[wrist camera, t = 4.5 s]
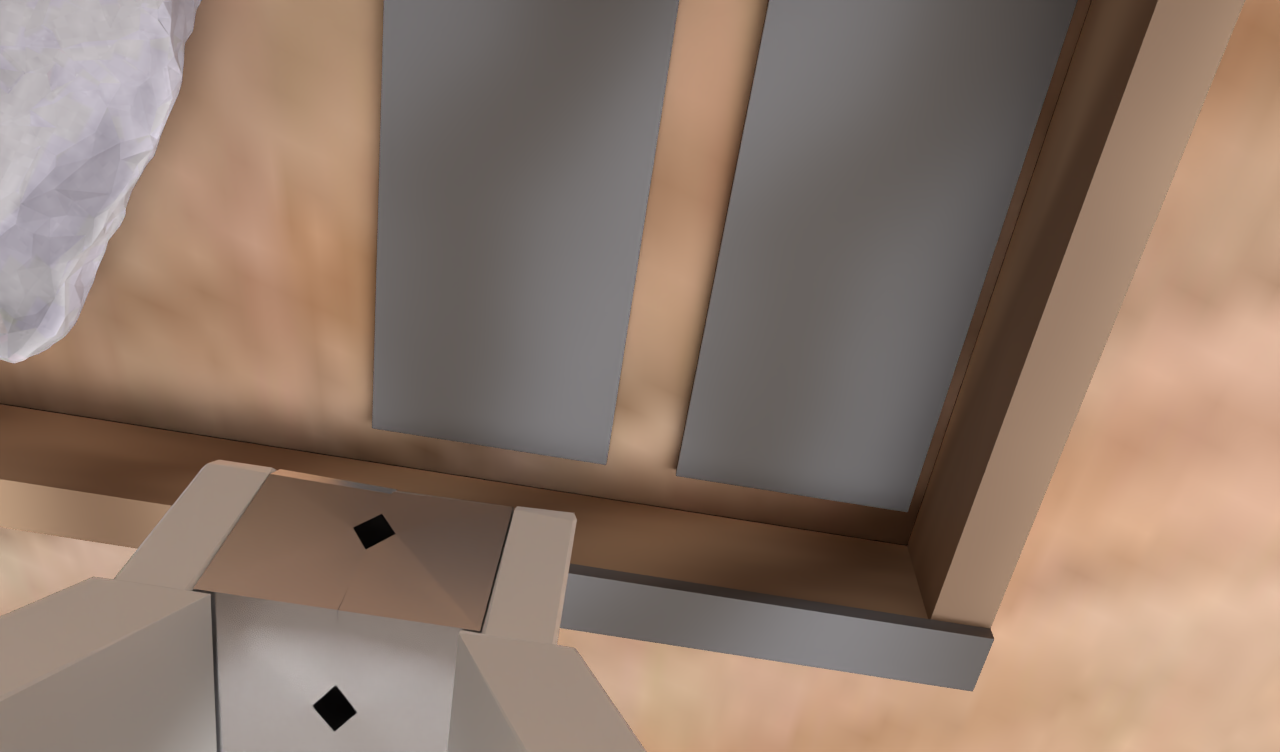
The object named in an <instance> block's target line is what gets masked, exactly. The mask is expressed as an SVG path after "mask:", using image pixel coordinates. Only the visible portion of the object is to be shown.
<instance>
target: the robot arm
mask: <svg viewBox="0 0 1280 752" xmlns="http://www.w3.org/2000/svg"><path fill="white" fill-rule="evenodd" d="M576 522H577V519H576V516H575V514H574V513H570V512H562V511H553V510H545V509H537V508H528V507H520V506H517V507H516V508H514V507H510V506H503V505H495V504H488V503H481V502H474V501H466V500H459V499H452V498H445V497H437V496H430V495H423V494H416V493H409V492H401V491H398V489H392V488H386V487H380V486H375V485H369V484H363V483H357V482H352V481H346V480H340V479H334V478H329V477H323V476H317V475H311V474H306V473H300V472H294V471H288V470H283V469H279V470H276V469H274V468H271V467H265V466H258V465H251V464H245V463H238V462H232V461H225V460H216V461H213V462H210V463H207V464H206V465H205V466H203V468H202V469H201V470H200V471H199V473H198V474H197V475H196V476H195V478H194V479H193V480H192V481H191V483H190V484H189V485H188V486H187V488H186V489H185V490H184V491H183V493H182V494H181V495H180V496H179V498H178V499H177V500H176V501H175V503H174V504H173V505H172V506H171V508H170V509H169V510H168V511H167V513H166V514H165V515H164V516H163V518H162V519H161V520H160V521H159V523H158V524H157V525H156V527H155V528H154V529H153V530H152V532H151V533H150V534H149V535H148V537H147V538H146V539H145V540H144V542H143V543H142V544H141V545H140V547H139V548H138V549H137V550H136V552H135V553H134V554H133V555H132V557H131V558H130V559H129V560H128V562H127V563H126V564H125V565H124V567H123V568H122V569H121V570H120V572H119V573H118V574H117V575H116V577H115V578H114V579H107V578H100V577H92V578H89V579H87V580H85V581H82V582H80V583H78V584H75V585H73V586H70V587H68V588H66V589H63V590H61V591H59V592H56V593H54V594H52V595H49V596H47V597H45V598H42V599H40V600H38V601H35V602H33V603H31V604H28V605H26V606H24V607H21V608H19V609H17V610H14V611H12V612H10V613H7V614H5V615H3V616H0V752H646V750H645V749H644V747H643V746H642V744H641V743H640V742H639V740H638V739H637V737H636V736H635V734H634V733H633V731H632V730H631V728H630V727H629V725H628V724H627V723H626V721H625V720H624V718H623V717H622V715H621V714H620V712H619V711H618V709H617V708H616V707H615V705H614V704H613V702H612V701H611V699H610V698H609V696H608V695H607V693H606V692H605V690H604V689H603V688H602V686H601V685H600V683H599V682H598V680H597V679H596V677H595V676H594V674H593V673H592V672H591V670H590V669H589V667H588V666H587V664H586V663H585V661H584V660H583V658H582V657H581V655H580V654H579V653H578V651H577V650H576V649H575V648H573V647H567V646H561V645H557V642H558V635H559V629H560V623H561V616H562V610H563V604H564V598H565V591H566V585H567V579H568V572H569V566H570V560H571V553H572V547H573V541H574V534H575V528H576Z"/></svg>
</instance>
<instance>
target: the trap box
mask: <svg viewBox="0 0 1280 752" xmlns="http://www.w3.org/2000/svg"><path fill="white" fill-rule="evenodd" d="M1244 2H1245V0H1092V1H1091V4H1090V7H1089V10H1088V13H1087V16H1086V19H1085V22H1084V25H1083V28H1082V31H1081V34H1080V36H1079V39H1078V42H1077V45H1076V48H1075V51H1074V54H1073V57H1072V60H1071V63H1070V66H1069V69H1068V72H1067V75H1066V78H1065V81H1064V84H1063V87H1062V90H1061V93H1060V96H1059V99H1058V102H1057V104H1056V107H1055V110H1054V113H1053V116H1052V119H1051V122H1050V125H1049V128H1048V131H1047V134H1046V137H1045V140H1044V143H1043V146H1042V149H1041V152H1040V155H1039V158H1038V161H1037V164H1036V167H1035V170H1034V172H1033V175H1032V178H1031V181H1030V184H1029V187H1028V190H1027V193H1026V196H1025V199H1024V202H1023V205H1022V208H1021V211H1020V214H1019V217H1018V220H1017V223H1016V226H1015V229H1014V232H1013V235H1012V238H1011V240H1010V243H1009V246H1008V249H1007V252H1006V255H1005V258H1004V261H1003V264H1002V267H1001V270H1000V273H999V276H998V279H997V282H996V285H995V288H994V291H993V294H992V297H991V300H990V303H989V306H988V309H987V311H986V314H985V317H984V320H983V323H982V326H981V329H980V332H979V335H978V338H977V341H976V344H975V347H974V350H973V353H972V356H971V359H970V362H969V365H968V368H967V371H966V374H965V377H964V379H963V382H962V385H961V388H960V391H959V394H958V397H957V400H956V403H955V406H954V409H953V412H952V415H951V418H950V421H949V424H948V427H947V430H946V433H945V436H944V439H943V442H942V445H941V447H940V450H939V453H938V456H937V459H936V462H935V465H934V468H933V471H932V474H931V477H930V480H929V483H928V486H927V489H926V492H925V495H924V498H923V501H922V504H921V507H920V510H919V513H918V515H917V518H916V521H915V524H914V527H913V530H912V533H911V536H910V539H909V542H908V545H907V546H904V545H898V544H891V543H885V542H878V541H872V540H866V539H859V538H853V537H846V536H840V535H834V534H827V533H821V532H814V531H808V530H802V529H795V528H789V527H782V526H776V525H770V524H763V523H757V522H750V521H744V520H738V519H731V518H725V517H718V516H712V515H706V514H699V513H693V512H686V511H680V510H674V509H667V508H661V507H654V506H648V505H642V504H635V503H629V502H622V501H616V500H610V499H603V498H597V497H590V496H584V495H578V494H571V493H565V492H559V491H552V490H546V489H539V488H533V487H527V486H520V485H514V484H507V483H501V482H495V481H488V480H482V479H475V478H469V477H463V476H456V475H450V474H443V473H437V472H431V471H424V470H418V469H411V468H405V467H399V466H392V465H386V464H379V463H373V462H367V461H360V460H354V459H347V458H341V457H335V456H328V455H322V454H315V453H309V452H303V451H296V450H290V449H283V448H277V447H271V446H264V445H258V444H251V443H245V442H239V441H232V440H226V439H219V438H213V437H207V436H200V435H194V434H187V433H181V432H175V431H168V430H162V429H155V428H149V427H143V426H136V425H130V424H123V423H117V422H111V421H104V420H98V419H91V418H85V417H79V416H72V415H66V414H59V413H53V412H47V411H40V410H34V409H28V408H21V407H15V406H8V405H2V404H0V527H2V528H8V529H15V530H21V531H27V532H34V533H40V534H47V535H53V536H60V537H66V538H73V539H79V540H86V541H92V542H99V543H105V544H112V545H118V546H125V547H131V548H139V547H140V545H141V544H142V543H143V542H144V540H145V539H146V538H147V537H148V535H149V534H150V533H151V532H152V530H153V529H154V528H155V527H156V525H157V524H158V523H159V521H160V520H161V519H162V518H163V516H164V515H165V514H166V513H167V511H168V510H169V509H170V508H171V506H172V505H173V504H174V503H175V501H176V500H177V499H178V498H179V496H180V495H181V494H182V493H183V491H184V490H185V489H186V488H187V486H188V485H189V484H190V483H191V481H192V480H193V479H194V478H195V476H196V475H197V474H198V473H199V471H200V470H201V469H202V468H203V466H205V465H206V464H207V463H210V462H213V461H216V460H225V461H232V462H238V463H245V464H251V465H258V466H265V467H271V468H274V469H276V470H279V469H283V470H288V471H294V472H300V473H306V474H311V475H317V476H323V477H329V478H334V479H340V480H346V481H352V482H357V483H363V484H369V485H375V486H380V487H386V488H392V489H398V491H401V492H409V493H416V494H423V495H430V496H437V497H445V498H452V499H459V500H466V501H474V502H481V503H488V504H495V505H503V506H510V507H514V508H516V507H517V506H520V507H528V508H537V509H545V510H553V511H562V512H570V513H574V514H575V516H576V519H577V522H576V528H575V534H574V541H573V547H572V553H571V560H570V566H569V572H568V579H567V585H566V591H565V598H564V604H563V610H562V616H561V623H560V628H564V629H570V630H577V631H583V632H590V633H596V634H603V635H609V636H616V637H622V638H629V639H635V640H642V641H648V642H655V643H661V644H668V645H674V646H681V647H687V648H694V649H700V650H707V651H713V652H720V653H726V654H733V655H739V656H746V657H752V658H759V659H765V660H772V661H778V662H785V663H791V664H798V665H804V666H811V667H817V668H824V669H830V670H837V671H843V672H850V673H856V674H863V675H869V676H876V677H882V678H888V679H895V680H901V681H908V682H914V683H921V684H927V685H934V686H940V687H947V688H953V689H960V690H966V691H973V690H974V687H975V685H976V682H977V680H978V677H979V675H980V673H981V670H982V668H983V665H984V663H985V660H986V658H987V656H988V653H989V651H990V648H991V646H992V643H993V641H994V637H993V634H992V632H991V629H990V628H991V626H992V623H993V621H994V619H995V616H996V614H997V611H998V609H999V606H1000V604H1001V601H1002V599H1003V596H1004V594H1005V591H1006V589H1007V586H1008V584H1009V582H1010V579H1011V577H1012V574H1013V572H1014V569H1015V567H1016V564H1017V562H1018V559H1019V557H1020V554H1021V552H1022V550H1023V547H1024V545H1025V542H1026V540H1027V537H1028V535H1029V532H1030V530H1031V527H1032V525H1033V522H1034V520H1035V517H1036V515H1037V513H1038V510H1039V508H1040V505H1041V503H1042V500H1043V498H1044V495H1045V493H1046V490H1047V488H1048V485H1049V483H1050V480H1051V478H1052V476H1053V473H1054V471H1055V468H1056V466H1057V463H1058V461H1059V458H1060V456H1061V453H1062V451H1063V448H1064V446H1065V443H1066V441H1067V439H1068V436H1069V434H1070V431H1071V429H1072V426H1073V424H1074V421H1075V419H1076V416H1077V414H1078V411H1079V409H1080V407H1081V404H1082V402H1083V399H1084V397H1085V394H1086V392H1087V389H1088V387H1089V384H1090V382H1091V379H1092V377H1093V374H1094V372H1095V370H1096V367H1097V365H1098V362H1099V360H1100V357H1101V355H1102V352H1103V350H1104V347H1105V345H1106V342H1107V340H1108V337H1109V335H1110V333H1111V330H1112V328H1113V325H1114V323H1115V320H1116V318H1117V315H1118V313H1119V310H1120V308H1121V305H1122V303H1123V300H1124V298H1125V296H1126V293H1127V291H1128V288H1129V286H1130V283H1131V281H1132V278H1133V276H1134V273H1135V271H1136V268H1137V266H1138V263H1139V261H1140V259H1141V256H1142V254H1143V251H1144V249H1145V246H1146V244H1147V241H1148V239H1149V236H1150V234H1151V231H1152V229H1153V227H1154V224H1155V222H1156V219H1157V217H1158V214H1159V212H1160V209H1161V207H1162V204H1163V202H1164V199H1165V197H1166V194H1167V192H1168V190H1169V187H1170V185H1171V182H1172V180H1173V177H1174V175H1175V172H1176V170H1177V167H1178V165H1179V162H1180V160H1181V157H1182V155H1183V153H1184V150H1185V148H1186V145H1187V143H1188V140H1189V138H1190V135H1191V133H1192V130H1193V128H1194V125H1195V123H1196V120H1197V118H1198V116H1199V113H1200V111H1201V108H1202V106H1203V103H1204V101H1205V98H1206V96H1207V93H1208V91H1209V88H1210V86H1211V84H1212V81H1213V79H1214V76H1215V74H1216V71H1217V69H1218V66H1219V64H1220V61H1221V59H1222V56H1223V54H1224V51H1225V49H1226V47H1227V44H1228V42H1229V39H1230V37H1231V34H1232V32H1233V29H1234V27H1235V24H1236V22H1237V19H1238V17H1239V14H1240V12H1241V10H1242V7H1243V5H1244ZM1076 3H1077V0H769V1H768V6H767V11H766V16H765V21H764V26H763V32H762V37H761V42H760V47H759V52H758V57H757V62H756V67H755V72H754V77H753V82H752V88H751V93H750V98H749V103H748V108H747V113H746V118H745V123H744V128H743V133H742V138H741V144H740V149H739V154H738V159H737V164H736V169H735V174H734V179H733V184H732V189H731V195H730V200H729V205H728V210H727V215H726V220H725V225H724V230H723V235H722V240H721V245H720V251H719V256H718V261H717V266H716V271H715V276H714V281H713V286H712V291H711V296H710V301H709V307H708V312H707V317H706V322H705V327H704V332H703V337H702V342H701V347H700V352H699V357H698V363H697V368H696V373H695V378H694V383H693V388H692V393H691V398H690V403H689V408H688V413H687V419H686V424H685V429H684V434H683V439H682V444H681V449H680V454H679V459H678V464H677V469H676V476H680V477H686V478H692V479H699V480H705V481H711V482H718V483H724V484H731V485H737V486H743V487H750V488H756V489H762V490H769V491H775V492H782V493H788V494H794V495H801V496H807V497H813V498H820V499H826V500H833V501H839V502H845V503H852V504H858V505H864V506H871V507H877V508H884V509H890V510H896V511H903V512H908V510H909V507H910V504H911V500H912V497H913V494H914V491H915V488H916V485H917V482H918V479H919V476H920V473H921V470H922V467H923V464H924V461H925V458H926V455H927V452H928V449H929V446H930V443H931V440H932V437H933V434H934V431H935V428H936V425H937V422H938V419H939V416H940V413H941V410H942V407H943V404H944V401H945V398H946V395H947V392H948V389H949V386H950V383H951V380H952V377H953V374H954V371H955V368H956V365H957V362H958V359H959V356H960V353H961V350H962V347H963V344H964V341H965V338H966V335H967V332H968V329H969V326H970V323H971V320H972V317H973V314H974V311H975V308H976V305H977V302H978V299H979V296H980V293H981V290H982V287H983V284H984V281H985V278H986V275H987V272H988V269H989V266H990V263H991V260H992V256H993V253H994V250H995V247H996V244H997V241H998V238H999V235H1000V232H1001V229H1002V226H1003V223H1004V220H1005V217H1006V214H1007V211H1008V208H1009V205H1010V202H1011V199H1012V196H1013V193H1014V190H1015V187H1016V184H1017V181H1018V178H1019V175H1020V172H1021V169H1022V166H1023V163H1024V160H1025V157H1026V154H1027V151H1028V148H1029V145H1030V142H1031V139H1032V136H1033V133H1034V130H1035V127H1036V124H1037V121H1038V118H1039V115H1040V112H1041V109H1042V106H1043V103H1044V100H1045V97H1046V94H1047V91H1048V88H1049V85H1050V82H1051V79H1052V76H1053V73H1054V70H1055V67H1056V64H1057V61H1058V58H1059V55H1060V52H1061V49H1062V46H1063V43H1064V40H1065V37H1066V34H1067V31H1068V28H1069V25H1070V22H1071V19H1072V16H1073V12H1074V9H1075V6H1076ZM678 5H679V0H384V18H383V54H382V90H381V127H380V163H379V199H378V236H377V272H376V308H375V345H374V381H373V417H372V428H374V429H380V430H386V431H393V432H399V433H405V434H412V435H418V436H425V437H431V438H437V439H444V440H450V441H456V442H463V443H469V444H476V445H482V446H488V447H495V448H501V449H507V450H514V451H520V452H527V453H533V454H539V455H546V456H552V457H558V458H565V459H571V460H578V461H584V462H590V463H597V464H603V465H606V463H607V457H608V450H609V444H610V438H611V431H612V425H613V418H614V412H615V406H616V399H617V393H618V387H619V380H620V374H621V367H622V361H623V355H624V348H625V342H626V336H627V329H628V323H629V317H630V310H631V304H632V297H633V291H634V285H635V278H636V272H637V266H638V259H639V253H640V247H641V240H642V234H643V227H644V221H645V215H646V208H647V202H648V196H649V189H650V183H651V177H652V170H653V164H654V157H655V151H656V145H657V138H658V132H659V126H660V119H661V113H662V107H663V100H664V94H665V87H666V81H667V75H668V68H669V62H670V56H671V49H672V43H673V37H674V30H675V24H676V17H677V11H678Z"/></svg>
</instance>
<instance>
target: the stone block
mask: <svg viewBox="0 0 1280 752" xmlns="http://www.w3.org/2000/svg"><path fill="white" fill-rule="evenodd" d="M201 1H202V0H0V359H1V360H4V361H7V362H11V363H17V362H20V361H24V360H26V359H27V358H29V357H31V356H33V355H36V354H39V353H41V352H43V351H45V350H47V349H49V348H50V347H51V345H53V344H55V343H56V342H58V341H59V340H61V339H62V338H64V337H65V336H66V335H67V334H68V332H69V331H70V330H71V328H72V327H73V326H74V325H75V323H76V322H77V319H78V317H79V315H80V313H81V310H82V308H83V305H84V303H85V300H86V297H87V295H88V292H89V290H90V288H91V286H92V284H93V282H94V279H95V275H96V272H97V269H98V267H99V265H100V262H101V260H102V258H103V255H104V253H105V251H106V247H107V243H108V240H109V239H110V238H111V237H112V235H113V234H114V233H115V232H116V230H117V229H118V228H119V227H120V225H121V223H122V221H123V219H124V217H125V213H126V206H127V203H128V201H129V198H130V195H131V192H132V190H133V188H134V186H135V185H136V183H137V181H138V180H139V178H140V176H141V174H142V172H143V171H144V169H145V167H146V165H147V164H148V162H149V161H150V160H151V159H152V158H153V156H154V155H155V152H156V149H157V146H158V143H159V140H160V137H161V134H162V131H163V129H164V126H165V123H166V121H167V119H168V116H169V114H170V112H171V110H172V107H173V105H174V103H175V101H176V98H177V96H178V94H179V91H180V88H181V84H182V75H183V65H184V50H185V42H186V41H187V39H188V38H189V36H190V35H191V33H192V32H193V28H194V22H195V15H196V10H197V8H198V6H199V4H200V2H201Z"/></svg>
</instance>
